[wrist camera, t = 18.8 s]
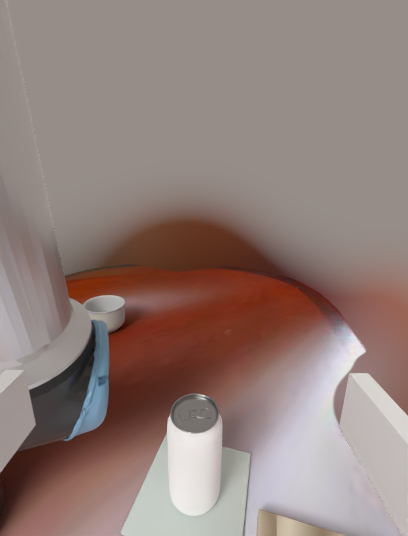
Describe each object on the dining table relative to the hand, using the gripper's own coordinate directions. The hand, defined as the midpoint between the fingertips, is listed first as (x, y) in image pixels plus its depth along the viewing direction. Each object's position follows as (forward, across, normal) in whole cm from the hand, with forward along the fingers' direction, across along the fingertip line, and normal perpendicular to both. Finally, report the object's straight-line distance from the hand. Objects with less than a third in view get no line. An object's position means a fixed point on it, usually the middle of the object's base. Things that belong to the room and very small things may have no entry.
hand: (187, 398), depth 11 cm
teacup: (+56, -28, -28) cm, 68 cm away
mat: (+15, 0, -28) cm, 32 cm away
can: (+15, 0, -28) cm, 32 cm away
